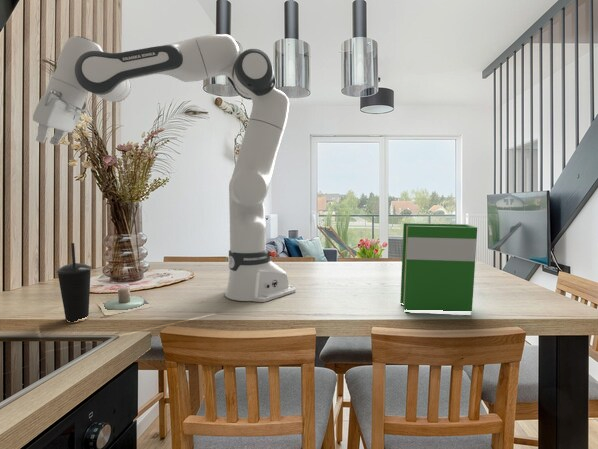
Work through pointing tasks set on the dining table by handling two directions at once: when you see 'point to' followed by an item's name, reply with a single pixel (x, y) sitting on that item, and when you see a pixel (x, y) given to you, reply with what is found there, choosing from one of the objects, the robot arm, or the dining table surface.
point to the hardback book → (438, 266)
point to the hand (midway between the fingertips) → (47, 143)
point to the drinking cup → (75, 288)
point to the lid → (124, 301)
